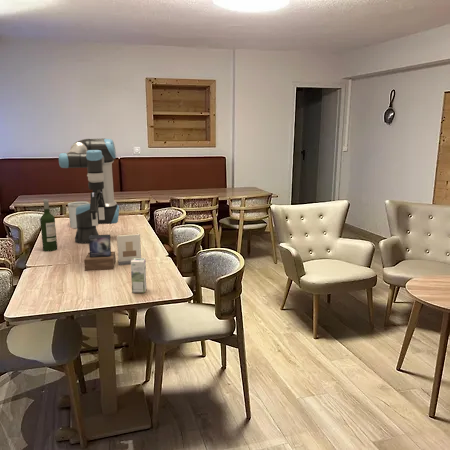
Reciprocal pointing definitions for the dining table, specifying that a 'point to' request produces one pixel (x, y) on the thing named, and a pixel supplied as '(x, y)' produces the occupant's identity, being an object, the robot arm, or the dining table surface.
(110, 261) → the walnut block
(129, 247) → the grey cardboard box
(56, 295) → the dining table surface
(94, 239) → the small box
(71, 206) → the utensil holder
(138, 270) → the syrup box
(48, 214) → the wine bottle
